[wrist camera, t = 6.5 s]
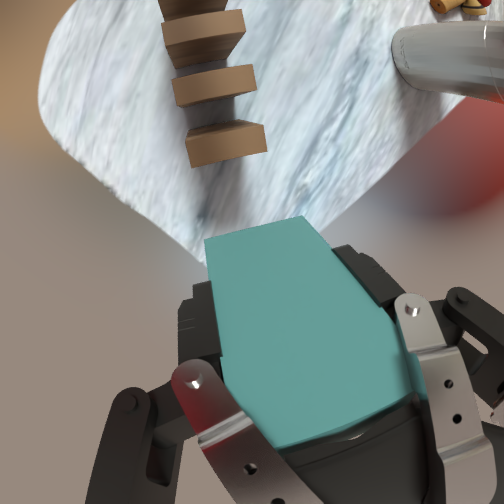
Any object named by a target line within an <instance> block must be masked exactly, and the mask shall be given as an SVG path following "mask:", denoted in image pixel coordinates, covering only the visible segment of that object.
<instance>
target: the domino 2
mask: <svg viewBox="0 0 504 504" xmlns="http://www.w3.org/2000/svg"><path fill="white" fill-rule="evenodd" d="M161 26H162V31H163V37H164V42H165V47H166V49H167V51H168V54H169V56H170V58H171V60H172V62H173V65H174V67H175V69H177V68H181V67H186V66H190V65H194V64H199V63H204V62H209V61H214V60H220V59H226V58H228V56H229V55H230V53H231V52H232V50H233V49H234V48H235V46H236V45H237V43H238V42H239V41H240V39H241V38H242V36H243V35H244V34H245V32H246V28H245V23H244V19H243V14H242V9H236V10H227V11H219V12H212V13H206V14H200V15H195V16H189V17H185V18H180V19H176V20H171V21H167V22H163V23H161Z"/></svg>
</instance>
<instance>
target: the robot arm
mask: <svg viewBox="0 0 504 504" xmlns="http://www.w3.org/2000/svg"><path fill="white" fill-rule="evenodd" d="M392 53H393V57H394V61H395V64H396V66H397V68H398V70H399V72H400V74H401V75H402V76H403V78H404V79H405V80H406V81H407V82H408V83H409V84H410V85H411V86H413V87H414V88H417V89H419V90H427V91H436V92H443V93H450V94H456V95H462V96H468V97H474V98H479V99H483V100H487V101H491V102H495V103H499V104H504V21H452V22H440V23H431V24H422V25H415V26H409V27H404V28H401V29H399V30H398V31H397V32H396V33H395V35H394V37H393V40H392ZM331 250H332V251H333V253H334V254H335V255H336V256H337V257H338V258H339V260H340V261H341V262H342V263H343V264H344V265H345V267H346V268H347V269H348V270H349V271H350V272H351V274H352V275H353V276H354V277H355V278H356V280H357V281H358V282H359V283H360V285H361V286H362V287H363V288H364V289H365V291H366V292H367V293H368V294H369V296H370V297H371V298H372V299H373V301H374V302H375V303H376V304H377V306H378V307H379V308H381V307H382V308H383V309H384V311H385V312H386V313H387V314H388V316H389V317H390V318H391V320H392V321H393V322H394V323H395V325H396V327H397V331H398V334H399V338H400V342H401V345H402V349H403V353H404V357H405V361H406V365H407V370H408V374H409V379H410V383H411V388H412V390H415V391H416V394H415V395H414V397H413V398H412V399H411V401H410V402H409V404H407V405H405V406H403V407H402V408H400V409H398V410H396V411H394V412H392V413H390V414H388V415H386V416H385V417H383V418H382V419H381V420H380V421H379V422H377V423H376V424H375V425H374V426H372V427H371V428H370V429H369V430H367V431H366V432H365V433H363V434H362V435H361V436H360V437H358V438H356V439H352V440H346V441H340V442H333V443H325V444H318V445H315V446H312V447H309V448H306V449H303V450H300V451H296V452H293V453H289V454H286V455H284V458H285V461H284V460H283V459H282V457H281V456H280V455H279V454H278V453H277V451H276V450H275V449H274V448H273V447H272V445H271V444H270V443H269V442H268V440H267V439H266V438H265V437H264V435H263V434H262V433H261V432H260V430H259V429H258V428H257V426H256V425H255V424H254V423H253V421H252V420H251V419H250V418H249V417H248V416H247V415H246V414H245V413H244V412H243V410H242V409H241V408H240V406H239V405H238V404H237V402H236V401H235V399H234V398H233V396H232V395H231V394H230V392H229V391H228V389H227V388H226V386H225V383H224V377H223V372H222V366H221V360H220V357H223V353H222V347H221V342H220V336H219V329H218V323H217V317H216V310H215V304H214V297H213V290H212V283H211V280H210V281H207V282H202V283H198V284H194V285H193V298H192V299H187V300H183V302H182V303H181V305H180V308H179V309H178V367H177V368H176V369H175V370H174V372H173V373H172V376H171V380H170V381H169V382H167V383H166V384H164V385H162V386H160V387H158V388H156V389H154V390H152V391H150V392H148V393H146V392H145V391H144V390H142V389H140V388H137V387H130V388H127V389H124V390H122V391H121V392H120V393H119V394H117V396H116V397H115V399H114V400H113V403H112V406H111V409H110V412H109V415H108V418H107V421H106V424H105V428H104V431H103V434H102V438H101V441H100V444H99V448H98V452H97V455H96V459H95V463H94V467H93V470H92V475H91V479H90V483H89V487H88V492H87V496H86V501H85V504H174V503H175V496H176V489H177V482H178V475H179V469H180V462H181V455H182V450H183V443H184V440H186V439H189V438H191V437H193V436H195V435H197V437H198V444H199V446H200V448H201V450H202V452H203V454H204V455H205V457H206V459H207V460H208V462H209V464H210V465H211V467H212V468H213V470H214V472H215V473H216V475H217V476H218V478H219V479H220V481H221V482H222V484H223V485H224V487H225V488H226V490H227V491H228V493H229V494H230V495H231V497H232V498H233V500H234V501H235V502H236V504H504V315H503V314H502V313H501V312H499V311H498V310H497V309H495V308H494V307H492V306H491V305H490V304H488V303H487V302H485V301H484V300H483V299H481V298H480V297H478V296H477V295H475V294H474V293H472V292H471V291H469V290H468V289H465V288H462V287H454V288H451V289H450V290H449V291H448V293H447V296H446V298H445V299H444V300H438V301H429V302H428V300H427V299H426V298H424V297H423V296H421V295H419V294H415V293H406V292H405V291H404V290H403V289H402V288H401V287H400V286H399V284H398V283H397V282H396V281H395V280H394V279H393V278H392V277H391V276H390V275H389V274H388V273H387V272H385V270H384V269H383V268H382V267H380V265H379V264H378V263H377V262H376V261H375V260H374V259H373V258H372V257H369V256H368V255H366V254H364V253H360V254H358V253H357V252H356V251H355V250H354V249H353V248H352V247H351V246H350V245H348V244H347V245H344V246H340V247H336V248H333V249H331ZM465 331H467V332H468V333H469V334H470V335H472V336H473V337H475V338H476V339H477V340H478V341H479V342H481V343H482V344H483V345H484V346H486V348H487V349H488V354H483V353H481V352H480V351H478V350H477V349H476V348H475V347H473V346H472V345H471V344H470V343H468V342H467V341H466V340H464V339H463V338H462V336H463V334H464V332H465ZM473 391H474V392H475V393H476V394H477V395H478V396H479V397H480V398H481V399H483V400H484V401H485V402H486V403H487V404H488V405H489V406H490V407H491V408H492V409H493V412H492V413H491V415H490V419H491V421H492V422H493V423H497V422H499V423H500V426H501V427H500V426H497V425H494V424H490V423H487V422H484V421H481V419H480V415H479V411H478V407H477V403H476V399H475V396H474V392H473Z"/></svg>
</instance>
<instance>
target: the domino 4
mask: <svg viewBox="0 0 504 504" xmlns="http://www.w3.org/2000/svg"><path fill="white" fill-rule="evenodd" d="M185 143H186V148H187V152H188V156H189V160H190V164H191V168H195V167H199V166H203V165H207V164H211V163H215V162H219V161H224V160H228V159H233V158H237V157H242V156H247V155H252V154H257V153H262V152H267V145H266V139H265V133H264V127H263V125H261V124H257V123H253V122H248V121H244V120H240V119H238V120H232V121H227V122H222V123H218V124H213V125H209V126H204V127H200V128H196V129H192V130H189V131H188V134H187V137H186V141H185Z"/></svg>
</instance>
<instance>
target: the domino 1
mask: <svg viewBox="0 0 504 504" xmlns="http://www.w3.org/2000/svg"><path fill="white" fill-rule="evenodd" d="M227 2H228V0H158V3H159V6H160V9H161V12H162V15H163V18H164V21H165V22H167V21H171V20H176V19H180V18H185V17H189V16H195V15H200V14H206V13H212V12H219V11H224V10H225V7H226V4H227Z"/></svg>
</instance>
